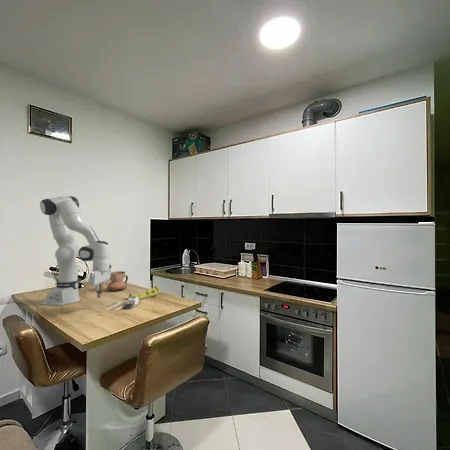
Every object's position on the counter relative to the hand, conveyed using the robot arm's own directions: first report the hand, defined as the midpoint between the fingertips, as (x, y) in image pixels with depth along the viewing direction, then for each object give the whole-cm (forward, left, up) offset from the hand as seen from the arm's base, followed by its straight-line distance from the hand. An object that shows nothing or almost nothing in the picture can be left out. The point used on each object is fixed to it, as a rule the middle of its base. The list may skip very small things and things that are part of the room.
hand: (99, 289), depth 153 cm
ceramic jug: (-10, +47, -13) cm, 50 cm away
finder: (+18, +8, -11) cm, 22 cm away
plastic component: (+20, +23, -13) cm, 33 cm away
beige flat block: (+14, +4, -12) cm, 19 cm away
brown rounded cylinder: (0, 0, -5) cm, 5 cm away
